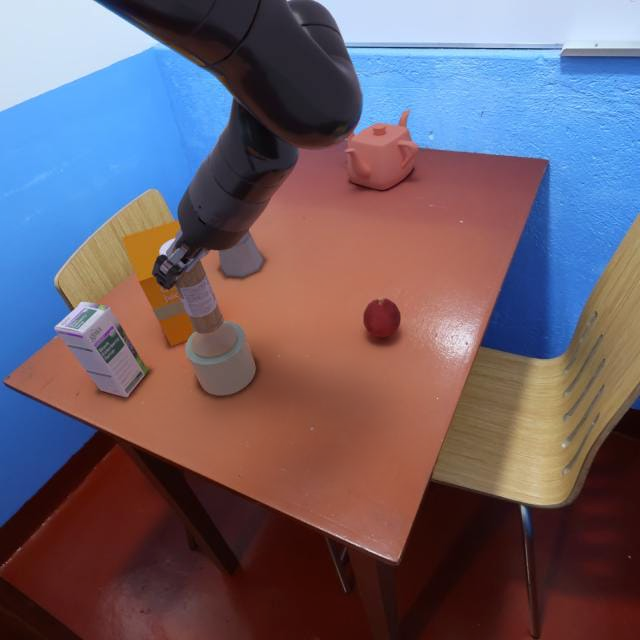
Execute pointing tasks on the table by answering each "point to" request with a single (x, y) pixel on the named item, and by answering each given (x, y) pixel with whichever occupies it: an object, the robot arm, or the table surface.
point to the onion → (381, 317)
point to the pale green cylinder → (221, 359)
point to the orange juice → (162, 301)
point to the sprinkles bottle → (197, 297)
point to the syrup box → (102, 348)
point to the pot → (381, 154)
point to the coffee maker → (241, 258)
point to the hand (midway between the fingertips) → (176, 271)
